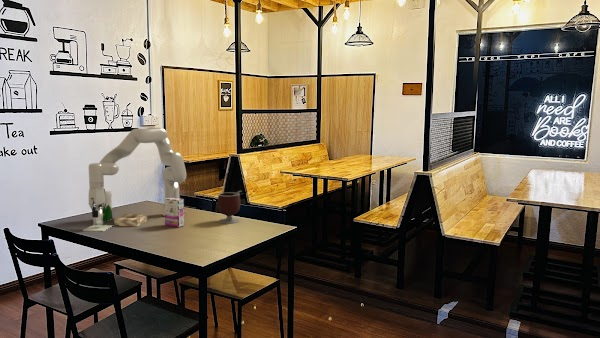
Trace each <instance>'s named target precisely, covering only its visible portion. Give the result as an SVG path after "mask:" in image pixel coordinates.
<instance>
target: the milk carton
mask: <svg viewBox="0 0 600 338" xmlns="http://www.w3.org/2000/svg"><path fill="white" fill-rule="evenodd" d="M105 189H106V188H104V194H105V203H104V205H103V206H104V208H103V221H107V222H109V221H111V220H110V219H112V220H113V219H114V218H113V205H112V202H113V201H112V196H113V195H112V194H113V191H112V190H105ZM94 207H96V206H94ZM108 220H109V221H108Z"/></svg>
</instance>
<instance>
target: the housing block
mask: <svg viewBox="0 0 600 338" xmlns="http://www.w3.org/2000/svg"><path fill="white" fill-rule="evenodd" d="M113 219H114V220H113V222H114V226H115V225H119V226H118V227H139V226H141V225H143V224H144V222H145V223H146V222H148V214H142V213H141V214H140V213H139V214H138V213H137V214H136V213H134V214H133V213H124V214H123V215H120V216H118V217H116V218H113Z"/></svg>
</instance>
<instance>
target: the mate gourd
mask: <svg viewBox="0 0 600 338" xmlns="http://www.w3.org/2000/svg"><path fill="white" fill-rule="evenodd" d="M240 193H242V190H238V191H236V192H221V193H220V192H219V193H218V195H217V208H218V211H219V213H221V214H222V215H225V216H226V218H225V217H224V218H221V219H218V220H219V221H218V222H219V223H220V224H224V225H225V224H226V225H229V224H237V223H239V222H240V219H239V218H233V215H236V214H238V212H239V211H240V208H241V196H240Z"/></svg>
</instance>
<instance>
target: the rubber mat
mask: <svg viewBox="0 0 600 338" xmlns="http://www.w3.org/2000/svg"><path fill="white" fill-rule="evenodd" d="M112 226H113V227H115V225H113V224H110V225H109V224H102V225H94V224H93V225H90V226H88V227H86V228H84V229H82V231H84V232H105V231H107V230H109V229H111V228H113V227H112ZM110 227H111V228H110ZM108 228H109V229H108ZM106 229H107V230H106Z"/></svg>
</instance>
